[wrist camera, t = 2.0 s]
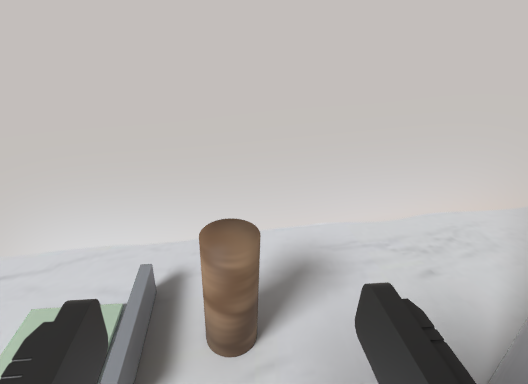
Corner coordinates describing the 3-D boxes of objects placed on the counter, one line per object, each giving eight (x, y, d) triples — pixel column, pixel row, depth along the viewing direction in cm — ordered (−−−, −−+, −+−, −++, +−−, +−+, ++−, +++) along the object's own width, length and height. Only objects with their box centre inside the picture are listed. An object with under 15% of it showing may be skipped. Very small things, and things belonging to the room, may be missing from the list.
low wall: (156, 291, 36) (152, 263, 34) (126, 414, 24) (117, 382, 23) (145, 292, 36) (140, 264, 34) (110, 415, 24) (99, 384, 22)
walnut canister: (254, 312, 34) (257, 217, 28) (259, 354, 29) (263, 252, 24) (207, 315, 33) (200, 219, 28) (205, 359, 29) (196, 255, 23)
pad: (123, 306, 34) (122, 303, 33) (93, 392, 26) (92, 388, 26) (32, 313, 33) (31, 309, 32) (-28, 404, 25) (-30, 400, 24)
